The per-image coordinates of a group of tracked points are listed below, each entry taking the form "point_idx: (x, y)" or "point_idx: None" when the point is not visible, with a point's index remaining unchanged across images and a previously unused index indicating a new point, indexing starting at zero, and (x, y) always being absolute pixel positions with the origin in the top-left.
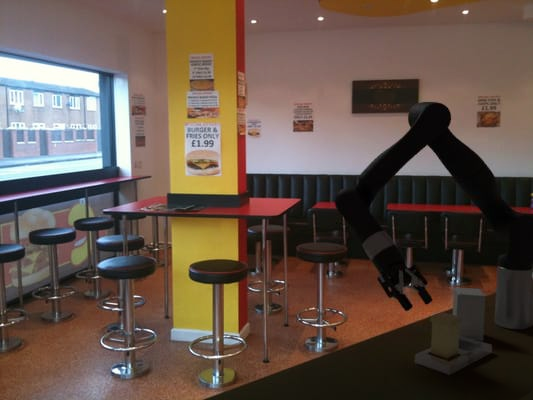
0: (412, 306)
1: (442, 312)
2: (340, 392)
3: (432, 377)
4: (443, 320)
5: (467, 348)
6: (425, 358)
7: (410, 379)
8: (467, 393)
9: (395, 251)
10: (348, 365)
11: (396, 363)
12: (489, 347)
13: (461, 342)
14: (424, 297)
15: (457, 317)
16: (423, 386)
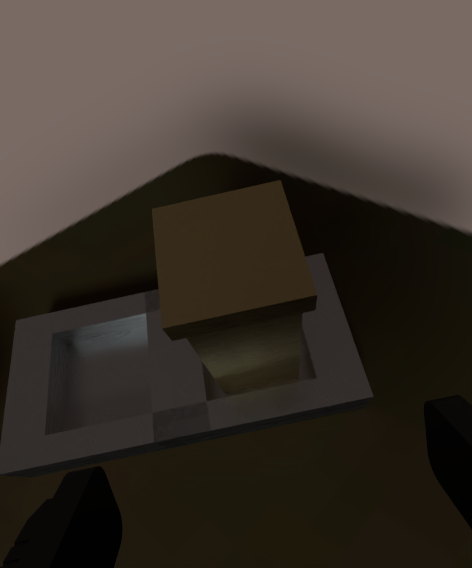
0: (429, 401)
1: (169, 320)
2: None
3: (361, 308)
4: (291, 215)
5: (64, 398)
6: (354, 345)
7: (451, 330)
8: (338, 199)
9: None
10: None
11: (420, 478)
12: (38, 318)
13: (53, 423)
14: (91, 563)
15: (177, 215)
16: (437, 274)
